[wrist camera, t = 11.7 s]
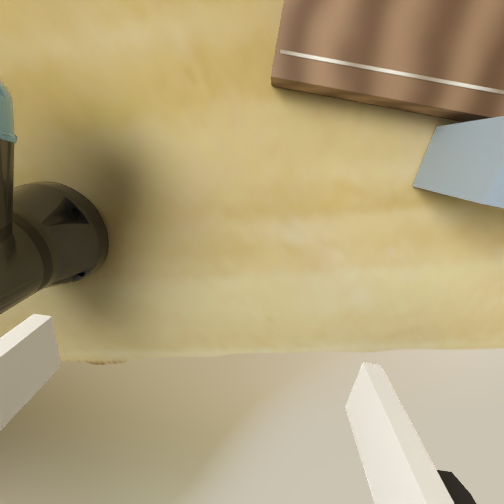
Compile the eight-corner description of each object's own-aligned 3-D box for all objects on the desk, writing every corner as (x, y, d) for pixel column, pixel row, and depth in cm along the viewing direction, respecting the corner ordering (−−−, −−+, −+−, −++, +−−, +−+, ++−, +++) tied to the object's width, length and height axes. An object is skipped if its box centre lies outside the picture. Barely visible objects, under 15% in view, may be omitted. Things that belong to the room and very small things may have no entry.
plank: (271, 85, 30) (271, 76, 27) (295, -53, 26) (299, -87, 22) (526, 133, 30) (563, 130, 26) (595, 1, 26) (651, -26, 22)
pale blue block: (412, 186, 33) (482, 203, 22) (452, 87, 29) (561, 47, 18) (459, 195, 33) (552, 217, 22) (505, 97, 29) (648, 63, 18)
